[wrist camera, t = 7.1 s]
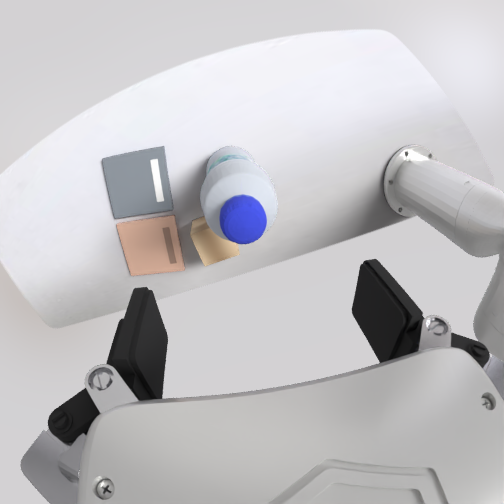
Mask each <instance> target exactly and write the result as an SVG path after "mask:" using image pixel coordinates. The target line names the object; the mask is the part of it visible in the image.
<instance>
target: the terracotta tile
mask: <svg viewBox="0 0 504 504" xmlns="http://www.w3.org/2000/svg"><path fill="white" fill-rule="evenodd" d="M117 229H118V233H119V236H120V240H121V243H122V247H123V250H124V254H125V257H126V260H127V264H128V267H129V270H130V273H131V276H135V275H145V274H155V273H165V272H174V271H184V270H185V266H184V261H183V257H182V252H181V247H180V241H179V236H178V231H177V226H176V220H175V215H171V216H164V217H156V218H149V219H142V220H135V221H129V222H122V223H117Z"/></svg>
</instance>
